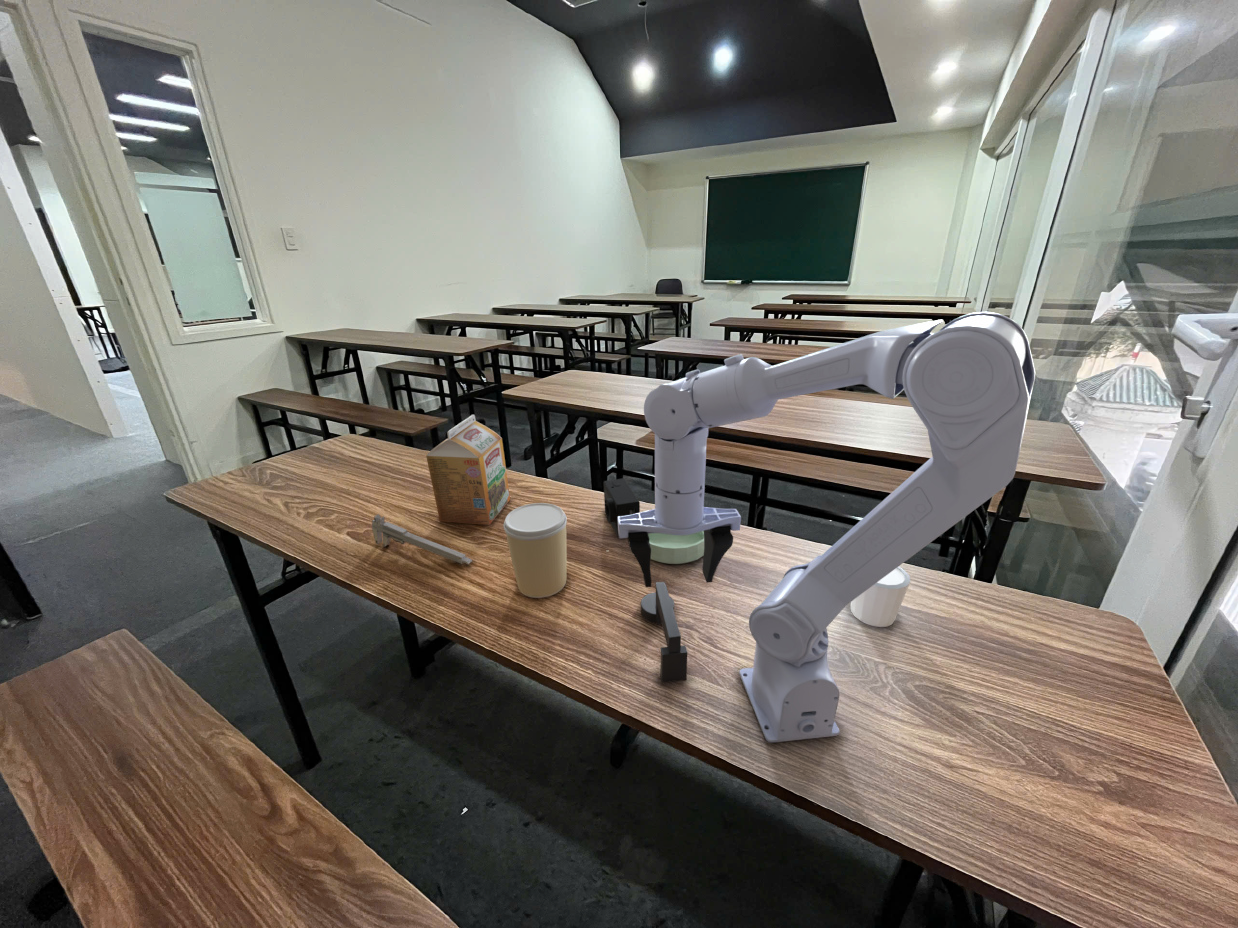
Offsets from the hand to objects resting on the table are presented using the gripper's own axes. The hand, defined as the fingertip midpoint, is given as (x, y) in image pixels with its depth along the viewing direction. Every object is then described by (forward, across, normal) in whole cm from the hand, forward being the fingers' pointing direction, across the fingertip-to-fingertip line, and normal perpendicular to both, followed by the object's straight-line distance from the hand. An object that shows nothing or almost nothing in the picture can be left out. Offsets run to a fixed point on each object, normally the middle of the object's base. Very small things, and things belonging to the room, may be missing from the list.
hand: (677, 579), depth 61 cm
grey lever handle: (+9, +2, 0) cm, 10 cm away
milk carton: (+10, +34, -40) cm, 53 cm away
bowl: (+9, -4, -22) cm, 25 cm away
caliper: (+10, +41, -25) cm, 49 cm away
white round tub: (+10, -28, -2) cm, 30 cm away
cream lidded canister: (+10, +19, -14) cm, 25 cm away
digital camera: (+10, +5, -31) cm, 33 cm away
